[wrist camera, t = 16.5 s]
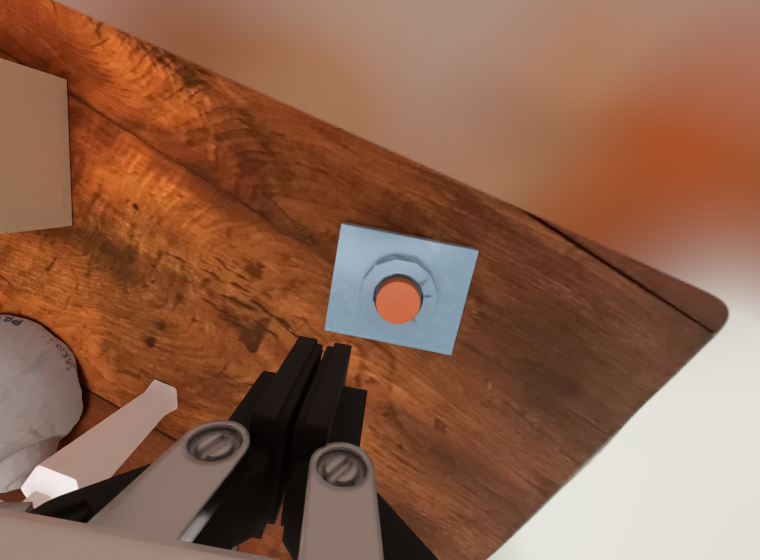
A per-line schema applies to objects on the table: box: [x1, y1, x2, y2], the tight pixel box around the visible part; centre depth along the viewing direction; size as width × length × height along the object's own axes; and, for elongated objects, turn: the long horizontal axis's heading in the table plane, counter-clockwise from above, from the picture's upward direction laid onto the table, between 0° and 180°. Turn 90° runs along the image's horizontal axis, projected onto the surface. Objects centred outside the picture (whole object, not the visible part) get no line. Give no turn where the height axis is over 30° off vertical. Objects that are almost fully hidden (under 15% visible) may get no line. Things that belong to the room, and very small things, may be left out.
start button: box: [376, 277, 421, 324], centre depth 29 cm, size 4×4×2 cm
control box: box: [324, 222, 479, 355], centre depth 32 cm, size 10×12×4 cm
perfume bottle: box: [21, 380, 178, 508], centre depth 30 cm, size 5×4×15 cm
